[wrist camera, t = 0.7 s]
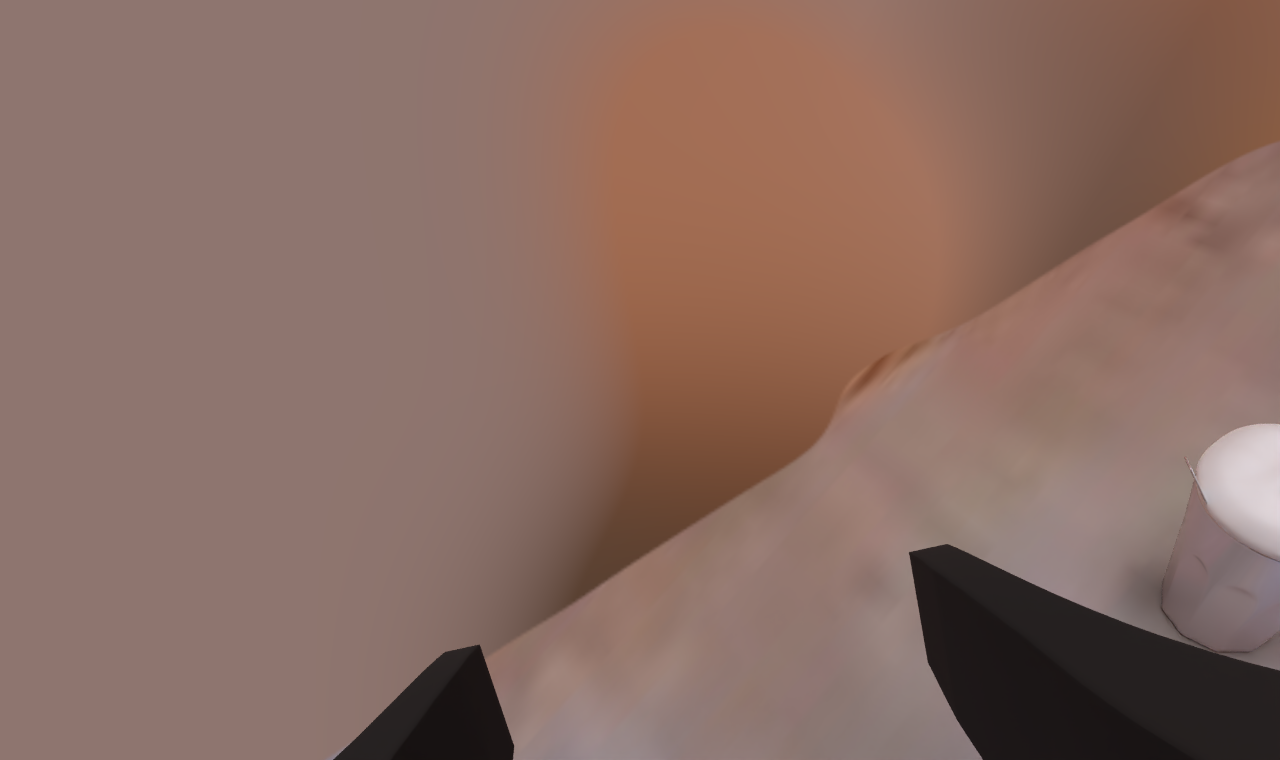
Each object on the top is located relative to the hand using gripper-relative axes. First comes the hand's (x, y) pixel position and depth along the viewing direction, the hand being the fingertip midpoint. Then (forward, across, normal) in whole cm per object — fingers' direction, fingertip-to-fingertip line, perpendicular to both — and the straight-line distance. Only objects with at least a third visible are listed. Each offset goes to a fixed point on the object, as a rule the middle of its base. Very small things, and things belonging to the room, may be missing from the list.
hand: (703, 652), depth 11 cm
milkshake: (+13, -17, +12) cm, 24 cm away
